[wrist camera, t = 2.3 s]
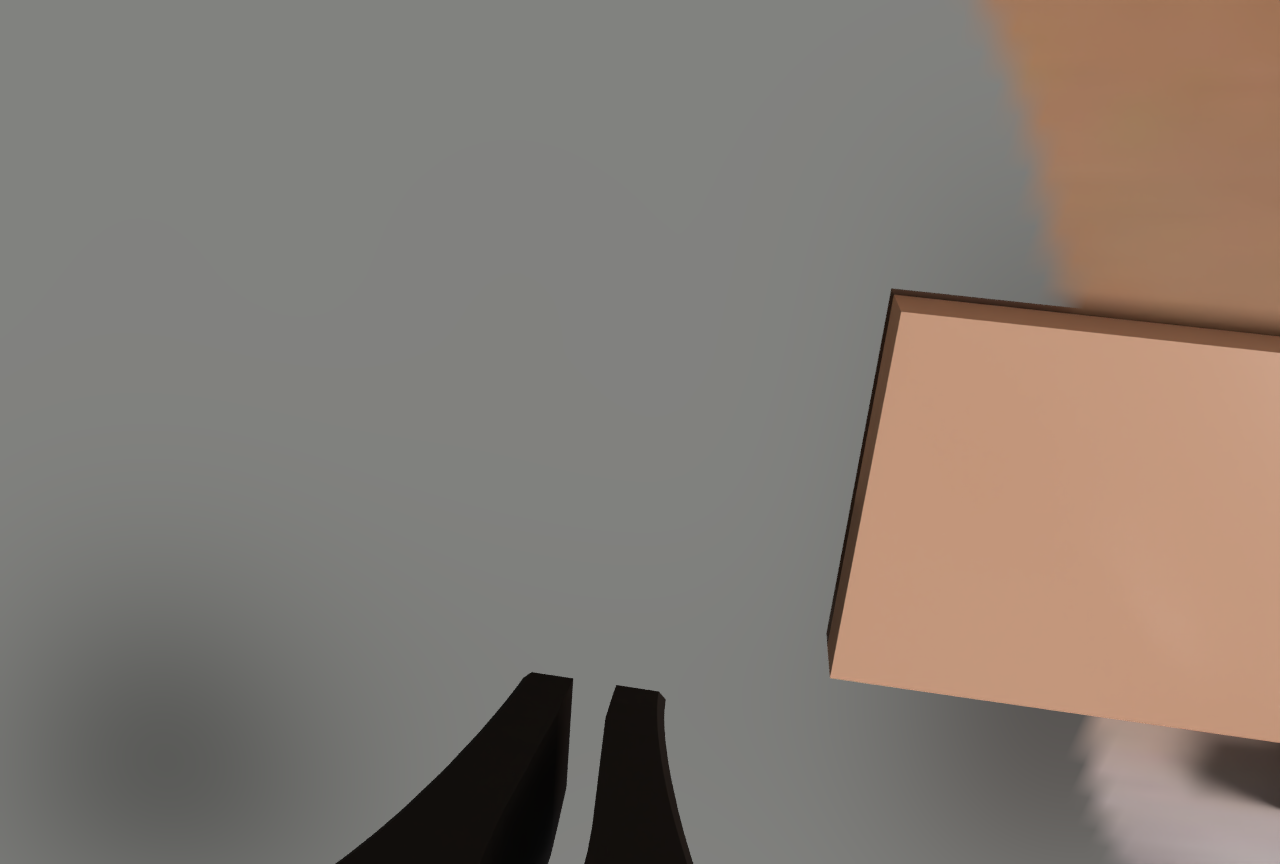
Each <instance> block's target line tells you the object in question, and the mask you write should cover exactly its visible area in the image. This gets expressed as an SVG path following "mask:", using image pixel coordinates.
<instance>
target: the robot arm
mask: <svg viewBox="0 0 1280 864" xmlns="http://www.w3.org/2000/svg"><path fill="white" fill-rule="evenodd" d="M572 688H573V678H566V677H560V676H553V675H546V674H540V673H533V672H532V673H530V674H528V675H527V676H526V677H524V678H523V679H522V681H521V682H520V683H519V685H518V686H517V687H516V689H515V690H514V691H513V693H512V694H511V695H510V696H509V698H508V699H507V700H506V701H505V703H504V704H503V705H502V706H501V707H500V709H499V710H498V711H497V712H496V713H495V715H494V716H493V717H492V718H491V719H490V720H489V722H488V723H487V724H486V725H485V726H484V727H483V729H482V730H481V731H480V732H479V733H478V734H477V735H476V736H475V737H474V738H473V740H472V741H471V742H470V743H469V744H468V745H467V746H466V747H465V748H464V749H463V750H462V751H461V752H460V753H459V755H458V756H457V757H456V758H455V759H454V760H453V761H452V762H451V763H450V764H449V765H448V766H447V767H446V768H445V769H444V770H443V771H442V772H441V773H440V774H439V775H438V776H437V777H436V778H435V779H434V780H433V781H432V782H431V783H430V784H429V785H428V786H427V787H426V788H424V789H423V790H422V791H421V792H420V793H419V794H418V795H417V796H416V797H415V798H414V799H413V800H412V801H411V802H410V803H409V804H408V805H407V806H406V807H404V808H403V809H402V810H401V811H400V812H399V813H398V814H397V815H395V816H394V817H393V818H392V819H391V820H390V821H388V822H387V823H386V824H385V825H384V826H383V827H381V828H380V829H379V830H378V831H377V832H376V833H374V834H373V835H372V836H371V837H369V838H368V839H367V840H366V841H364V842H363V843H362V844H361V845H359V846H358V847H357V848H356V849H354V850H353V851H352V852H351V853H349V854H348V855H347V856H345V857H344V858H343V859H341V860H340V861H339V862H337V863H336V864H548V862H549V859H550V856H551V852H552V847H553V843H554V839H555V835H556V831H557V827H558V822H559V818H560V813H561V809H562V804H563V800H564V795H565V791H566V785H567V769H568V753H569V737H570V719H571V704H572ZM664 709H665V698H664V697H663V696H662V695H661V694H660V692H658V691H652V690H645V689H638V688H632V687H625V686H619V685H616V688H615V691H614V693H613V696H612V699H611V702H610V706H609V709H608V712H607V715H606V720H605V727H604V735H603V744H602V751H601V759H600V767H599V776H598V784H597V792H596V801H595V808H594V817H593V825H592V831H591V836H590V841H589V847H588V852H587V856H586V859H585V863H584V864H693V862H692V858H691V855H690V852H689V848H688V845H687V842H686V838H685V835H684V831H683V828H682V824H681V820H680V816H679V812H678V808H677V804H676V799H675V794H674V790H673V785H672V781H671V776H670V770H669V765H668V757H667V750H666V742H665V731H664Z"/></svg>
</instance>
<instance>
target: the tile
mask: <svg viewBox="0 0 1280 864" xmlns="http://www.w3.org/2000/svg"><path fill="white" fill-rule="evenodd" d="M826 635H827V647H828V659H829V672H830V678H833V679H841V680H848V681H855V682H862V683H868V684H875V685H882V686H889V687H896V688H903V689H909V690H916V691H924V692H930V693H938V694H945V695H951V696H958V697H966V698H972V699H979V700H986V701H993V702H1000V703H1007V704H1014V705H1021V706H1028V707H1035V708H1041V709H1048V710H1056V711H1062V712H1069V713H1076V714H1083V715H1090V716H1097V717H1104V718H1111V719H1118V720H1125V721H1132V722H1139V723H1146V724H1152V725H1159V726H1166V727H1173V728H1180V729H1187V730H1194V731H1201V732H1208V733H1215V734H1222V735H1229V736H1236V737H1243V738H1250V739H1257V740H1264V741H1270V742H1277V743H1280V336H1272V335H1263V334H1253V333H1244V332H1235V331H1226V330H1216V329H1207V328H1198V327H1189V326H1179V325H1170V324H1161V323H1152V322H1142V321H1133V320H1124V319H1115V318H1105V317H1096V316H1087V315H1078V314H1068V307H1062V306H1052V305H1043V304H1034V303H1033V304H1032V303H1023V302H1015V301H1005V300H995V299H986V298H977V297H968V296H959V295H949V294H940V293H931V292H921V291H912V290H903V289H893V288H892V289H891V293H890V298H889V303H888V308H887V314H886V319H885V325H884V330H883V335H882V340H881V346H880V351H879V356H878V362H877V367H876V372H875V378H874V383H873V388H872V394H871V399H870V404H869V410H868V415H867V420H866V425H865V431H864V436H863V442H862V447H861V452H860V457H859V463H858V468H857V473H856V479H855V484H854V489H853V494H852V500H851V505H850V510H849V516H848V521H847V526H846V532H845V537H844V543H843V548H842V553H841V558H840V564H839V569H838V574H837V580H836V585H835V590H834V596H833V601H832V606H831V612H830V617H829V622H828V628H827V633H826Z"/></svg>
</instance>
